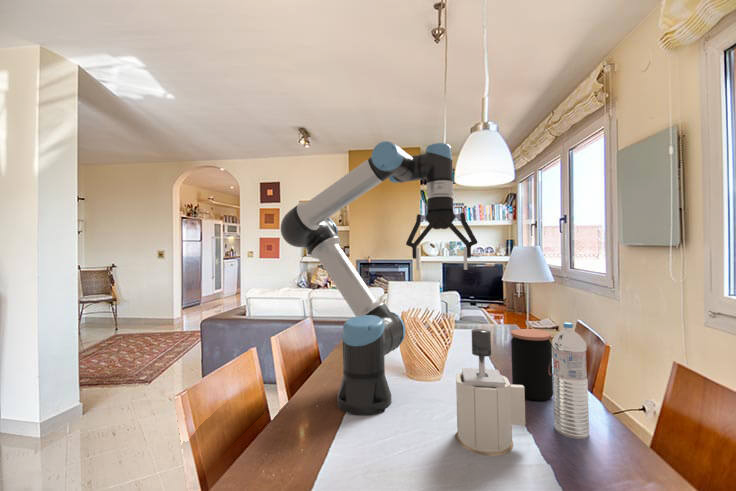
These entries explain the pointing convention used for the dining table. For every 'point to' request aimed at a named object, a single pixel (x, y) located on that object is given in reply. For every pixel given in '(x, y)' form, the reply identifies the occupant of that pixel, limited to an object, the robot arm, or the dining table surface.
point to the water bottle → (570, 384)
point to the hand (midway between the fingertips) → (441, 269)
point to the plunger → (481, 347)
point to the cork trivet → (483, 453)
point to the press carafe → (487, 410)
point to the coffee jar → (532, 363)
